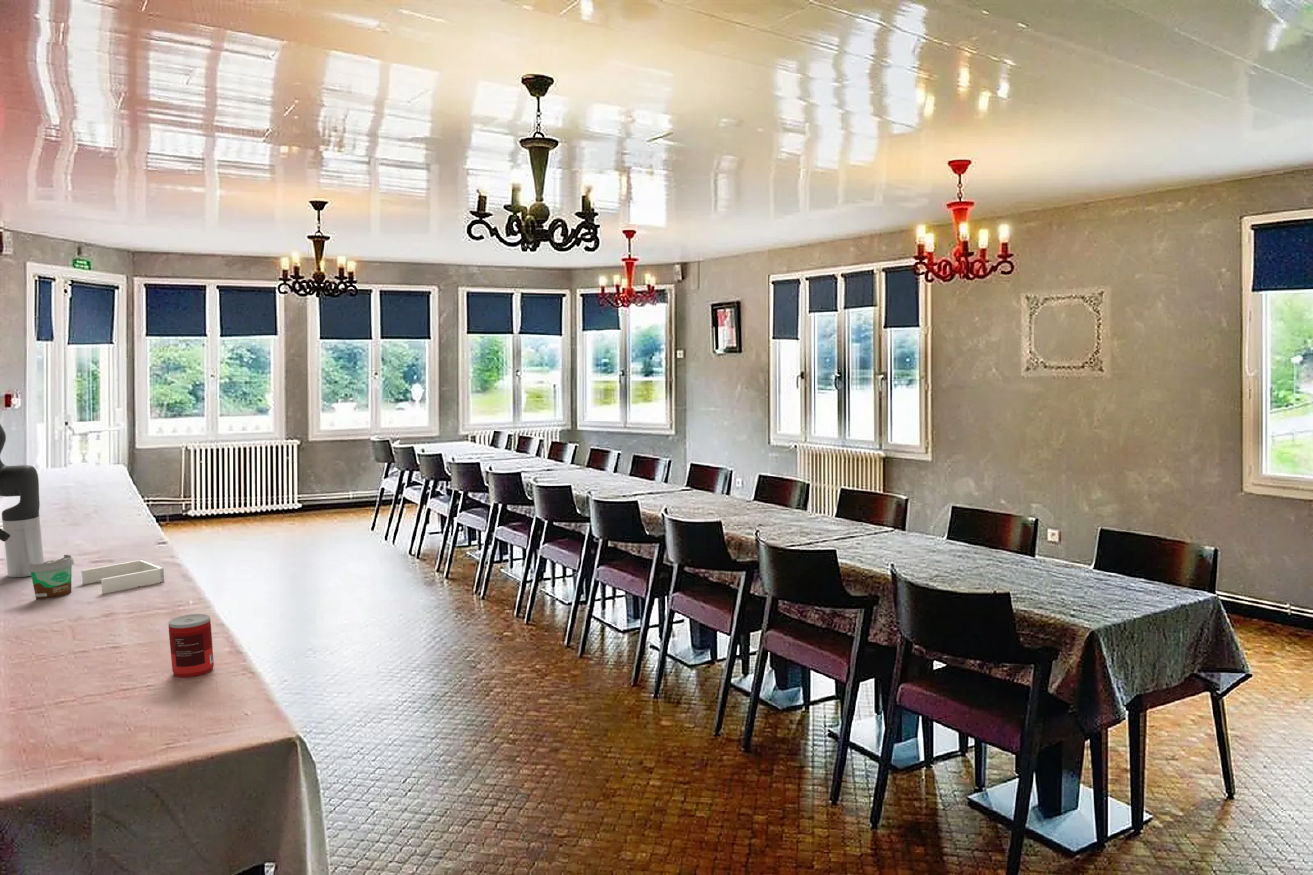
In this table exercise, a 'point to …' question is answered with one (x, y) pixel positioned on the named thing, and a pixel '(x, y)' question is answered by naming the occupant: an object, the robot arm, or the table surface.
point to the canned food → (191, 645)
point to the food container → (52, 578)
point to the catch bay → (124, 575)
